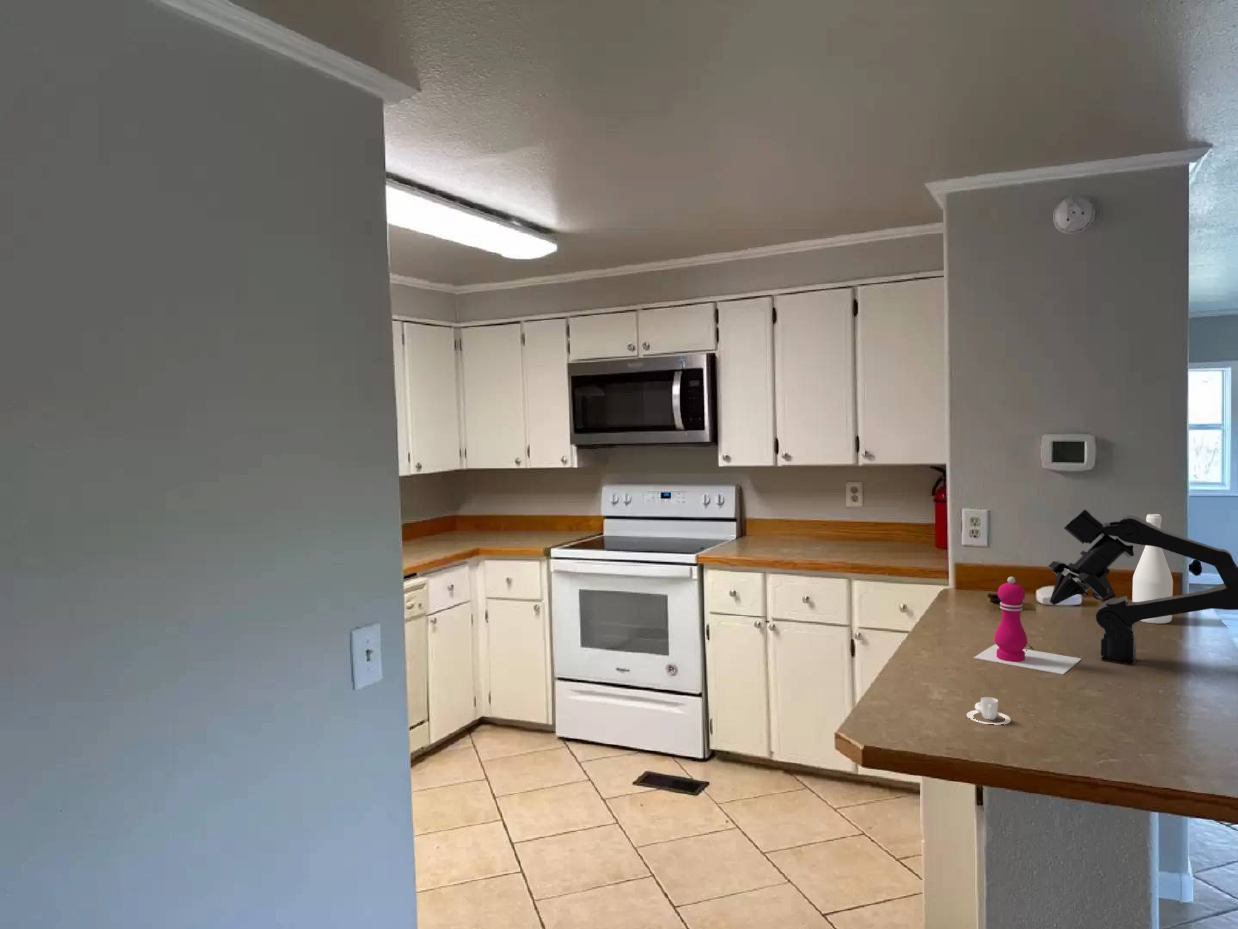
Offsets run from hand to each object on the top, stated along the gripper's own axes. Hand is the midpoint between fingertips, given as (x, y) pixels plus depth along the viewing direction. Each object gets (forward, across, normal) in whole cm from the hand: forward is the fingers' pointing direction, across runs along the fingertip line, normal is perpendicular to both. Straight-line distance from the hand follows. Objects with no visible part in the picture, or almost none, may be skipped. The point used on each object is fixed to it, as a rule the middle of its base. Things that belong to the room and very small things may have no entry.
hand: (1051, 603), depth 201 cm
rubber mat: (+14, 0, -6) cm, 15 cm away
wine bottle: (-21, +36, -41) cm, 58 cm away
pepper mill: (+16, 0, -3) cm, 17 cm away
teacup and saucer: (+29, -38, +9) cm, 48 cm away
